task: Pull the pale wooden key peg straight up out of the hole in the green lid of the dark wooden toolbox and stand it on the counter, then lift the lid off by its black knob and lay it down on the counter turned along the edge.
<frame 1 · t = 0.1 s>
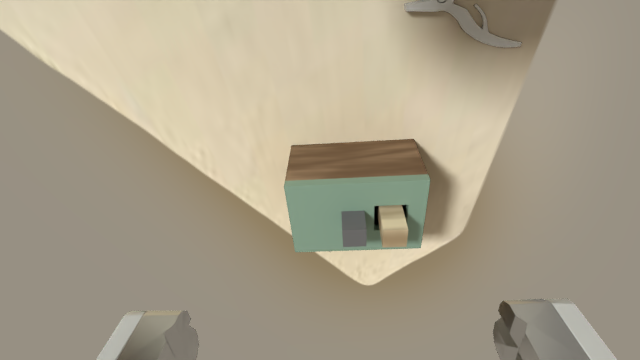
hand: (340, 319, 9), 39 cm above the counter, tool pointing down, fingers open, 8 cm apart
toolbox: (352, 175, 54), on the counter
key: (382, 177, 52), point 1 cm above the counter, touching toolbox
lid: (356, 213, 46), point 9 cm above the counter, touching toolbox
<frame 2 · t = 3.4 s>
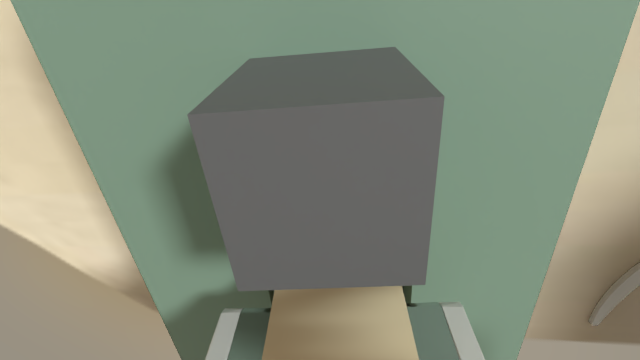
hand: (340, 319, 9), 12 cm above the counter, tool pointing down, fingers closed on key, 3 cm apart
key: (335, 150, 18), point 1 cm above the counter, touching gripper, toolbox
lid: (328, 123, 9), point 9 cm above the counter, touching toolbox
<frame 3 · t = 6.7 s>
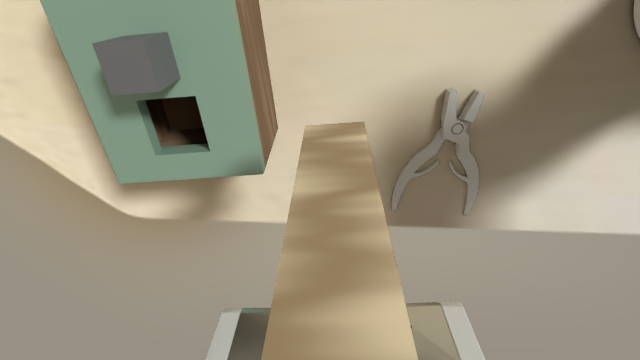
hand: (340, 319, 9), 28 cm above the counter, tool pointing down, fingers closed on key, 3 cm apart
pliers: (443, 153, 38), on the counter
toolbox: (201, 43, 32), on the counter
key: (336, 150, 18), point 18 cm above the counter, touching gripper
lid: (162, 61, 24), point 9 cm above the counter, touching toolbox
when the fingers open (13 cm above the counter, at t = 10.2 s): key drops 2 cm, on the counter.
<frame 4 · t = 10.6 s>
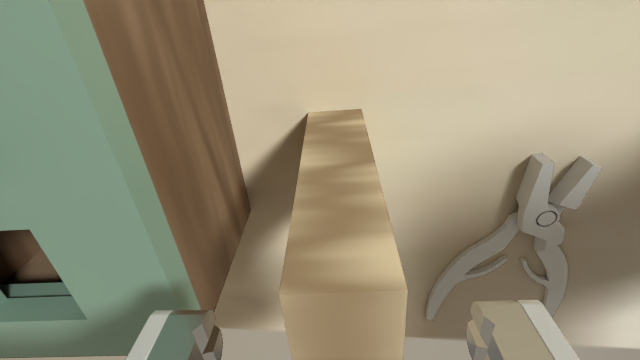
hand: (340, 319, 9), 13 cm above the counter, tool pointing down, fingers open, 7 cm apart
pliers: (512, 245, 24), on the counter
toolbox: (113, 82, 19), on the counter
key: (336, 135, 20), on the counter
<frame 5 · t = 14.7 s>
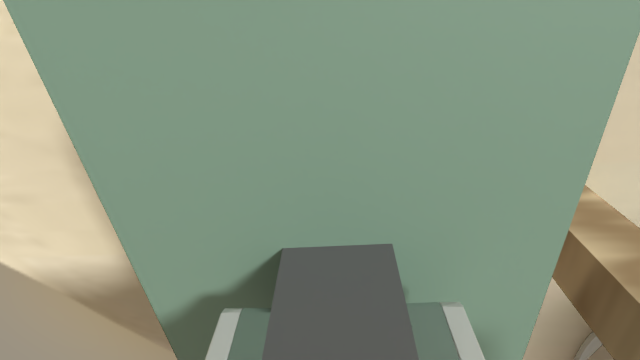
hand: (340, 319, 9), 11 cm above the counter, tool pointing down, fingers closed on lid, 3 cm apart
key: (541, 200, 20), on the counter
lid: (339, 267, 11), point 9 cm above the counter, touching gripper, toolbox
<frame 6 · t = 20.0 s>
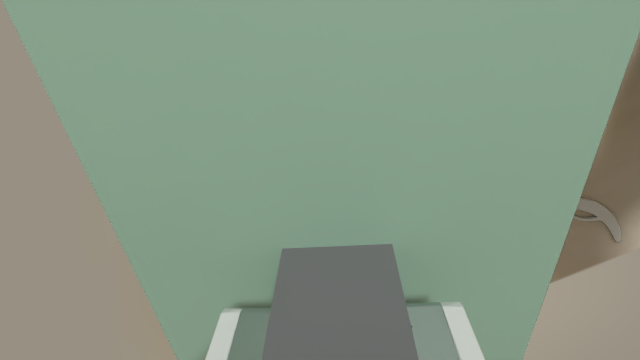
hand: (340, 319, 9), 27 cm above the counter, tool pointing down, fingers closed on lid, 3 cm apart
pliers: (559, 210, 40), on the counter
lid: (339, 268, 11), point 24 cm above the counter, touching gripper
when the fingers open (5 cm above the counter, at t = 25.4 s): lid drops 1 cm, point 1 cm above the counter.
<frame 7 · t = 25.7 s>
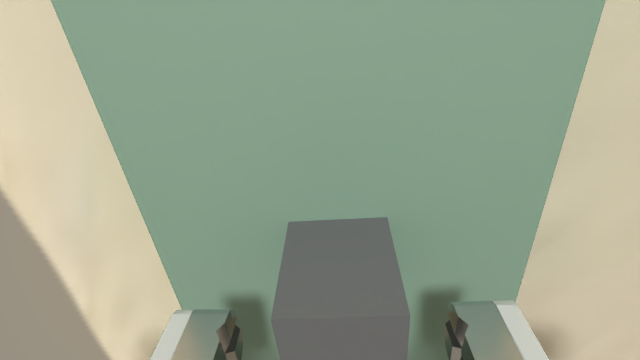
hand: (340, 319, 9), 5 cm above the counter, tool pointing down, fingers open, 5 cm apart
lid: (340, 243, 12), point 1 cm above the counter
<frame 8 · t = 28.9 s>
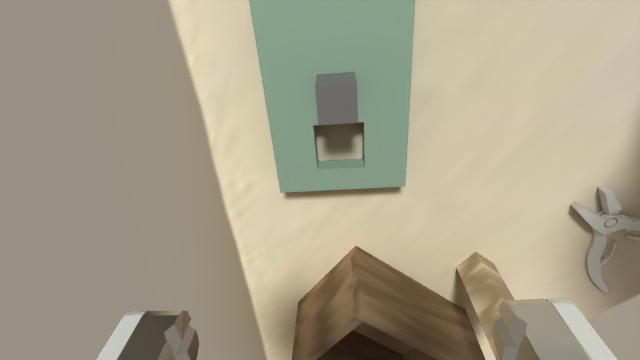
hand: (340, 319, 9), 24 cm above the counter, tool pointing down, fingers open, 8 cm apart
pliers: (613, 232, 37), on the counter
toolbox: (381, 306, 44), on the counter
key: (474, 265, 40), on the counter
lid: (336, 93, 29), point 1 cm above the counter
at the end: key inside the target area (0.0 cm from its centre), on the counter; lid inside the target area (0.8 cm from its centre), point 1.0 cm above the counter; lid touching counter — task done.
